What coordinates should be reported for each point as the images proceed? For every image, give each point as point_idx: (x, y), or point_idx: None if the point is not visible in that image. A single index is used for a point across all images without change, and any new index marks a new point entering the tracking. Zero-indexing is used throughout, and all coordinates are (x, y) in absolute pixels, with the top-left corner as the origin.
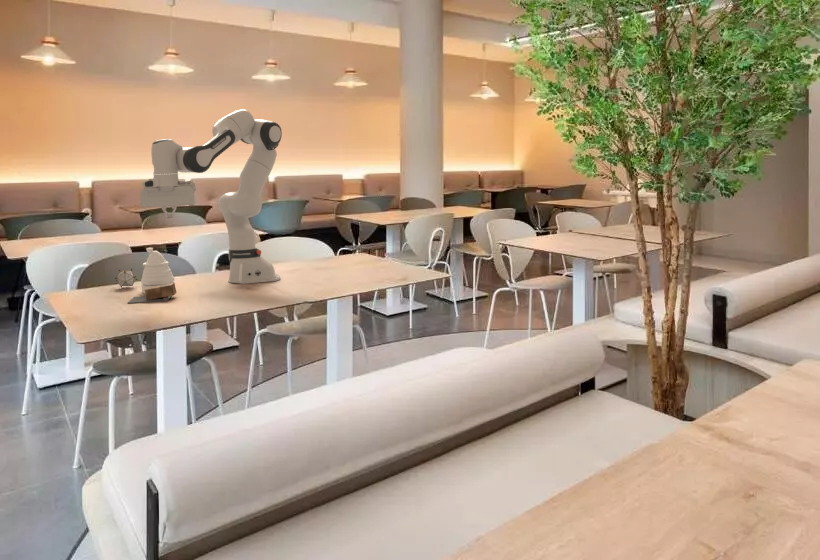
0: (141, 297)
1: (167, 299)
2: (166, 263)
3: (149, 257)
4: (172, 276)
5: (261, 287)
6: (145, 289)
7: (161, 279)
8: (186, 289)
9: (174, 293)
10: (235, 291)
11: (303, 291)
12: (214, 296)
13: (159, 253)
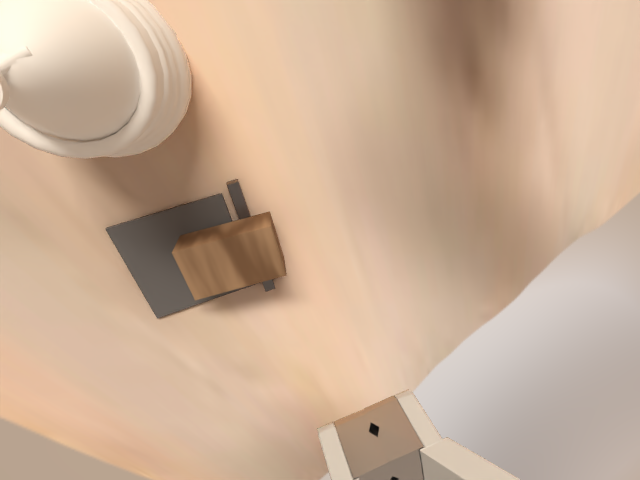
0: (149, 241)
1: None
2: (157, 92)
3: (22, 112)
4: (179, 62)
5: (511, 57)
6: (196, 296)
7: (160, 138)
8: (237, 52)
9: (281, 249)
10: (437, 129)
11: (602, 150)
12: (389, 210)
13: (76, 69)
